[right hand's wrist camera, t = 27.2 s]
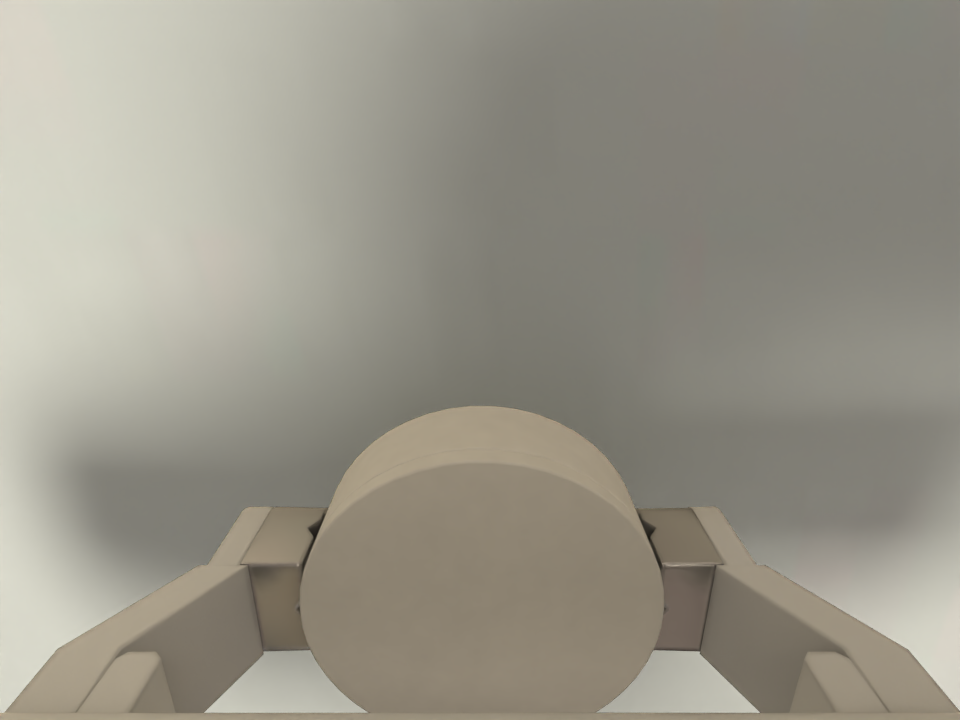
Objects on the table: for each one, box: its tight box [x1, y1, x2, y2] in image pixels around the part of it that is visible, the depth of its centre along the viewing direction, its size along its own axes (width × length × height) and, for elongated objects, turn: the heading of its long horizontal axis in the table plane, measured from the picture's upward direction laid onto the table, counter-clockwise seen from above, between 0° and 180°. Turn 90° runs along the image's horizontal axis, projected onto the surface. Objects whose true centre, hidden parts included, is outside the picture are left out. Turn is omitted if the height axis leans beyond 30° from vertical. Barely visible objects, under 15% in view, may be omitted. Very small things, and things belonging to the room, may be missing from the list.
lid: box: [300, 406, 664, 713], centre depth 10 cm, size 6×6×2 cm
